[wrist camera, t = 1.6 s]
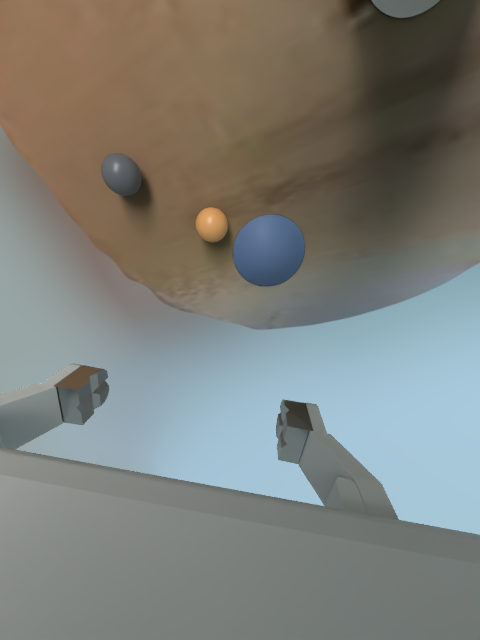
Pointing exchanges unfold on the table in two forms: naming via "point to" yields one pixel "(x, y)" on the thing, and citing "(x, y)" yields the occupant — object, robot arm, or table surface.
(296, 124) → the table surface
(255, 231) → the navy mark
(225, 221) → the orange ball
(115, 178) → the charcoal ball
